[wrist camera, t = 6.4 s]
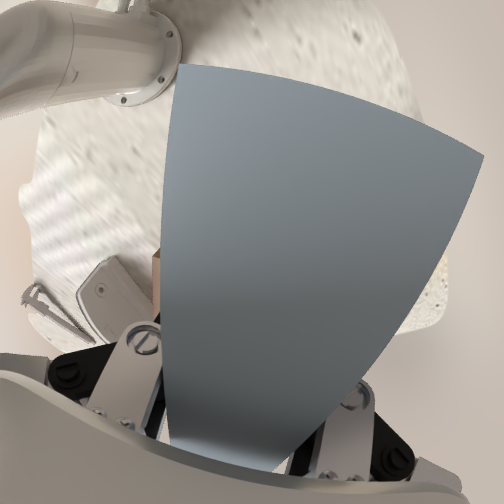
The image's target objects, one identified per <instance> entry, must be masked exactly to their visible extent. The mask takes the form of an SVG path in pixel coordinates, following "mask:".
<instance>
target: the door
mask: <svg viewBox="0 0 504 504" xmlns="http://www.w3.org/2000/svg"><path fill="white" fill-rule="evenodd" d="M483 158H484V155H482V154H481V153H479V152H477V151H475V150H474V149H472V148H470V147H468V146H466V145H464V144H463V143H461V142H459V141H457V140H455V139H453V138H452V137H449V136H448V135H446V134H444V133H442V132H440V131H438V130H435V129H433V128H431V127H429V126H427V125H425V124H423V123H420V122H418V121H416V120H414V119H411V118H409V117H407V116H404V115H402V114H399V113H397V112H394V111H392V110H389V109H387V108H384V107H381V106H379V105H376V104H373V103H370V102H368V101H365V100H362V99H359V98H356V97H353V96H350V95H347V94H343V93H340V92H337V91H333V90H330V89H326V88H323V87H319V86H315V85H312V84H308V83H304V82H300V81H295V80H291V79H287V78H282V77H277V76H272V75H267V74H262V73H256V72H250V71H244V70H237V69H230V68H223V67H214V66H204V65H193V64H179V67H178V72H177V78H176V84H175V91H174V97H173V104H172V111H171V118H170V126H169V134H168V143H167V152H166V163H165V174H164V186H163V201H162V218H161V242H160V324H161V348H162V365H163V379H164V391H165V402H166V412H167V421H168V429H169V437H170V444H171V446H173V447H176V448H179V449H182V450H185V451H188V452H191V453H194V454H198V455H201V456H204V457H208V458H211V459H215V460H218V461H222V462H226V463H230V464H234V465H238V466H242V467H247V468H251V469H256V470H261V471H267V472H272V471H273V470H274V469H275V468H276V467H278V466H279V464H281V463H282V462H283V461H284V460H285V459H286V458H288V457H289V456H290V455H291V454H292V453H293V452H294V451H295V450H296V449H297V448H298V447H299V446H300V445H301V444H302V443H303V442H304V441H305V440H306V439H307V438H309V437H310V435H311V434H312V433H313V432H314V431H315V430H316V429H317V428H318V427H319V426H320V425H321V424H322V423H323V422H324V421H325V420H326V419H327V418H328V417H329V416H330V415H331V413H332V412H333V411H334V410H335V409H336V408H337V407H338V406H339V405H340V403H341V402H342V401H343V400H344V399H345V398H346V397H347V395H348V394H349V393H350V392H351V391H352V389H353V388H354V387H355V386H356V385H357V383H358V382H359V381H360V380H361V379H362V377H363V376H364V375H365V374H366V372H367V371H368V370H369V368H370V367H371V366H372V364H373V363H374V362H375V361H376V359H377V358H378V357H379V355H380V354H381V353H382V351H383V350H384V348H385V347H386V346H387V344H388V343H389V342H390V340H391V339H392V337H393V336H394V334H395V333H396V331H397V330H398V329H399V327H400V326H401V324H402V323H403V321H404V320H405V318H406V317H407V315H408V313H409V312H410V310H411V309H412V307H413V306H414V304H415V302H416V301H417V299H418V297H419V296H420V294H421V292H422V291H423V289H424V287H425V286H426V284H427V282H428V281H429V279H430V277H431V275H432V273H433V272H434V270H435V268H436V266H437V264H438V262H439V261H440V259H441V257H442V255H443V253H444V251H445V249H446V247H447V245H448V243H449V241H450V239H451V237H452V235H453V233H454V231H455V229H456V226H457V224H458V222H459V220H460V218H461V215H462V213H463V211H464V208H465V206H466V204H467V201H468V199H469V197H470V194H471V192H472V189H473V186H474V184H475V181H476V178H477V176H478V173H479V170H480V167H481V164H482V162H483Z"/></svg>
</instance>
